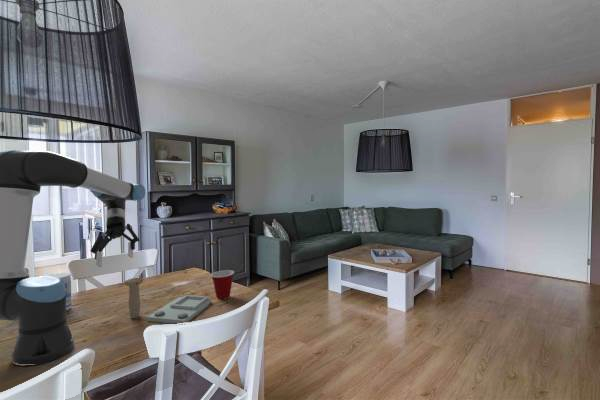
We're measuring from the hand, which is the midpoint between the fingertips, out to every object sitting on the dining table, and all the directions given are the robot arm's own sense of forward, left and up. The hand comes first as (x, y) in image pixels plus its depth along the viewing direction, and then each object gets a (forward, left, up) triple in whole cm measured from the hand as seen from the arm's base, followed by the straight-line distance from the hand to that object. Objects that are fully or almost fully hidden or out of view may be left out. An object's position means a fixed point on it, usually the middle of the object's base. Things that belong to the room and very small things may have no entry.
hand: (114, 261), depth 135 cm
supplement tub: (-9, +20, -20) cm, 30 cm away
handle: (-8, -16, -20) cm, 26 cm away
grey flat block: (+1, -31, -20) cm, 36 cm away
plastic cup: (+19, -41, -20) cm, 49 cm away
